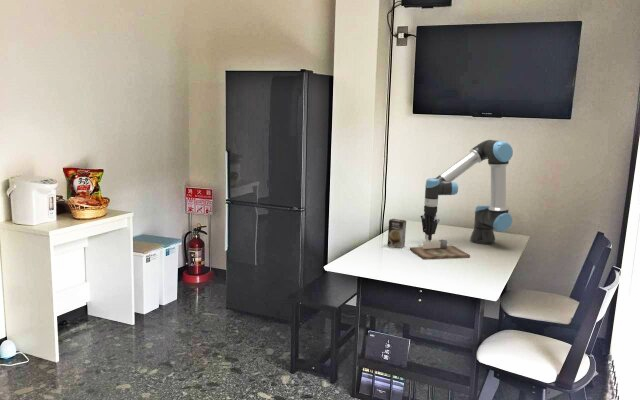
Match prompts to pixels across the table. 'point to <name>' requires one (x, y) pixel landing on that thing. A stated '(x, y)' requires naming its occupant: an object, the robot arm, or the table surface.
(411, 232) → the table surface
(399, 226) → the coffee box
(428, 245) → the grey-tipped match
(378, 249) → the table surface
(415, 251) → the dial board
